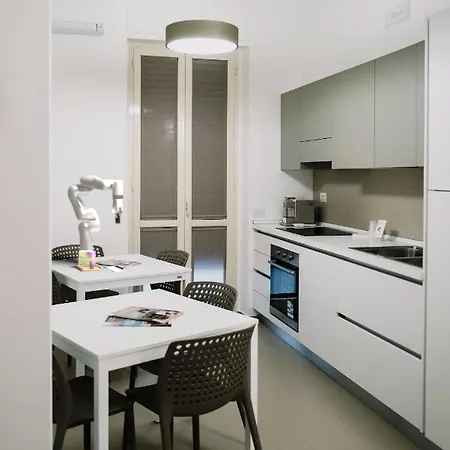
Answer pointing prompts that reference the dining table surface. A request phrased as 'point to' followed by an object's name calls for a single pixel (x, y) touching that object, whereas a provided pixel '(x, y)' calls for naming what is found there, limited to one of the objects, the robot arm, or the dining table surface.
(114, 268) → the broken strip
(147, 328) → the dining table surface
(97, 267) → the lane frame
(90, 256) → the box
